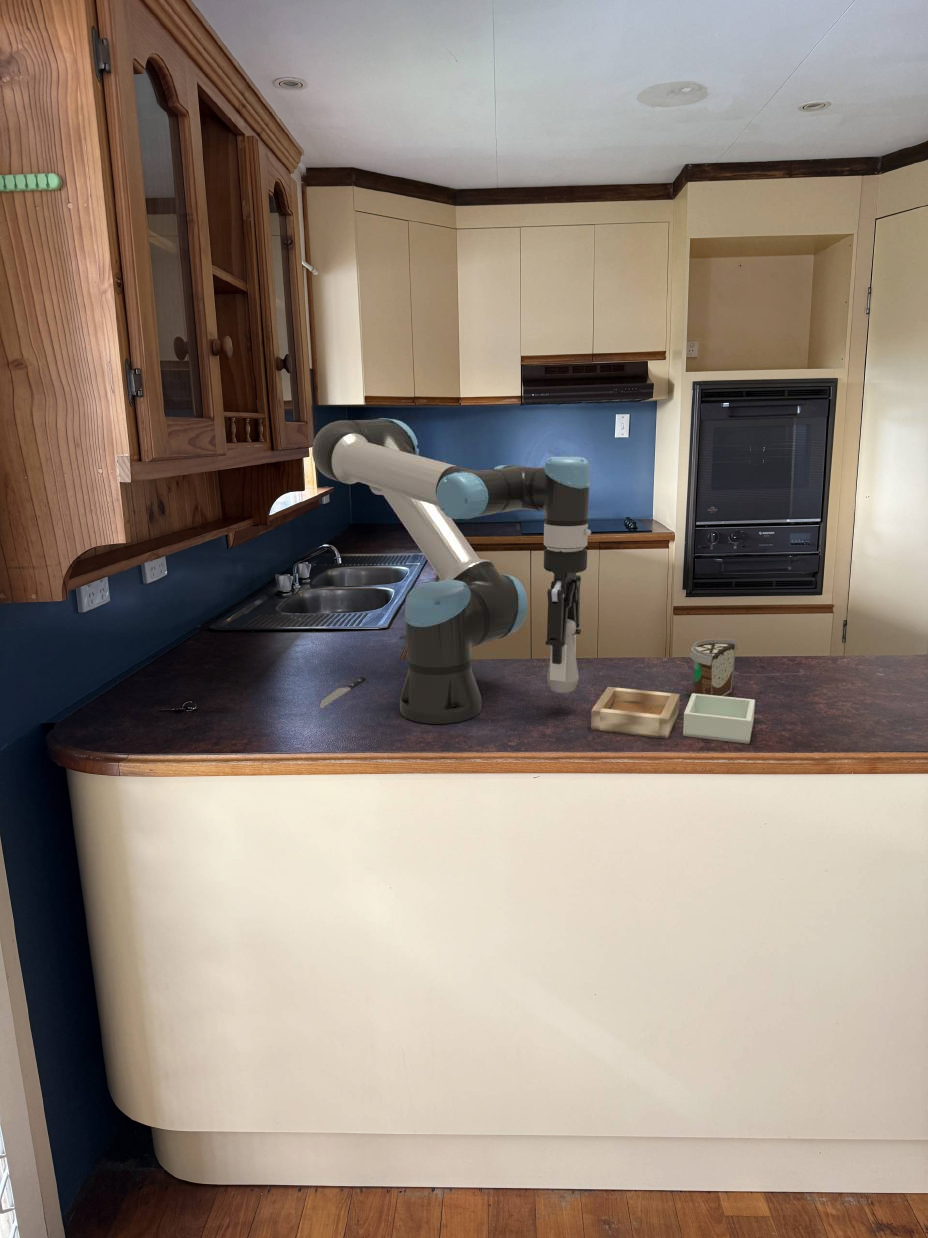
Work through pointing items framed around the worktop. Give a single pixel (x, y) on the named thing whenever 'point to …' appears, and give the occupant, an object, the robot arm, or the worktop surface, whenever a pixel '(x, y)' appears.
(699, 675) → the food container
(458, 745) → the worktop surface
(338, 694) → the chef's knife
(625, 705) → the plate
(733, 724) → the bin
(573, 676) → the salt shaker
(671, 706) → the beige square tray
